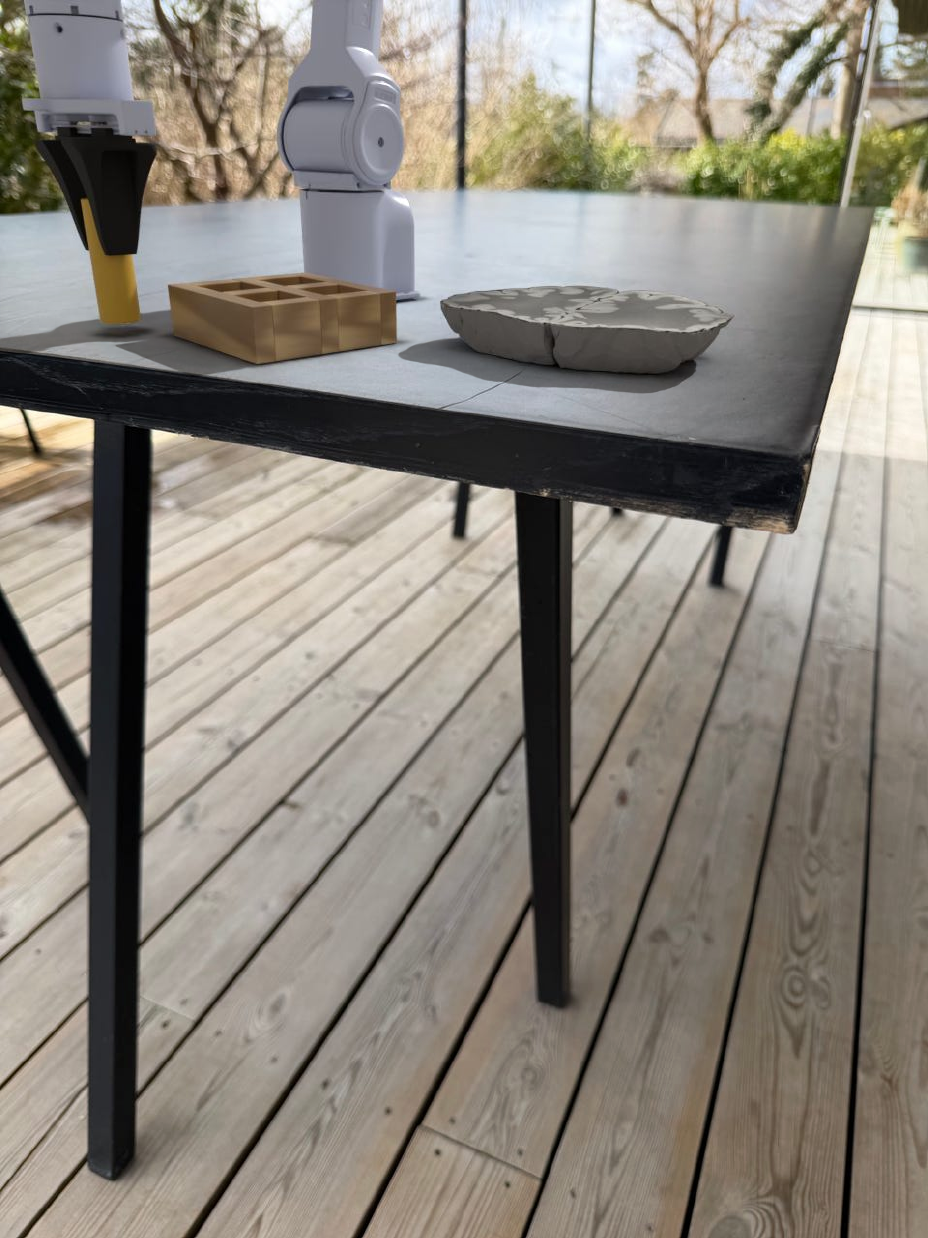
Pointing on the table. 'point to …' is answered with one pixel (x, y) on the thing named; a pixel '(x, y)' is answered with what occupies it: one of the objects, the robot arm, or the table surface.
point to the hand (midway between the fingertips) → (110, 252)
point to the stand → (283, 316)
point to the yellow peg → (111, 278)
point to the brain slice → (586, 327)
